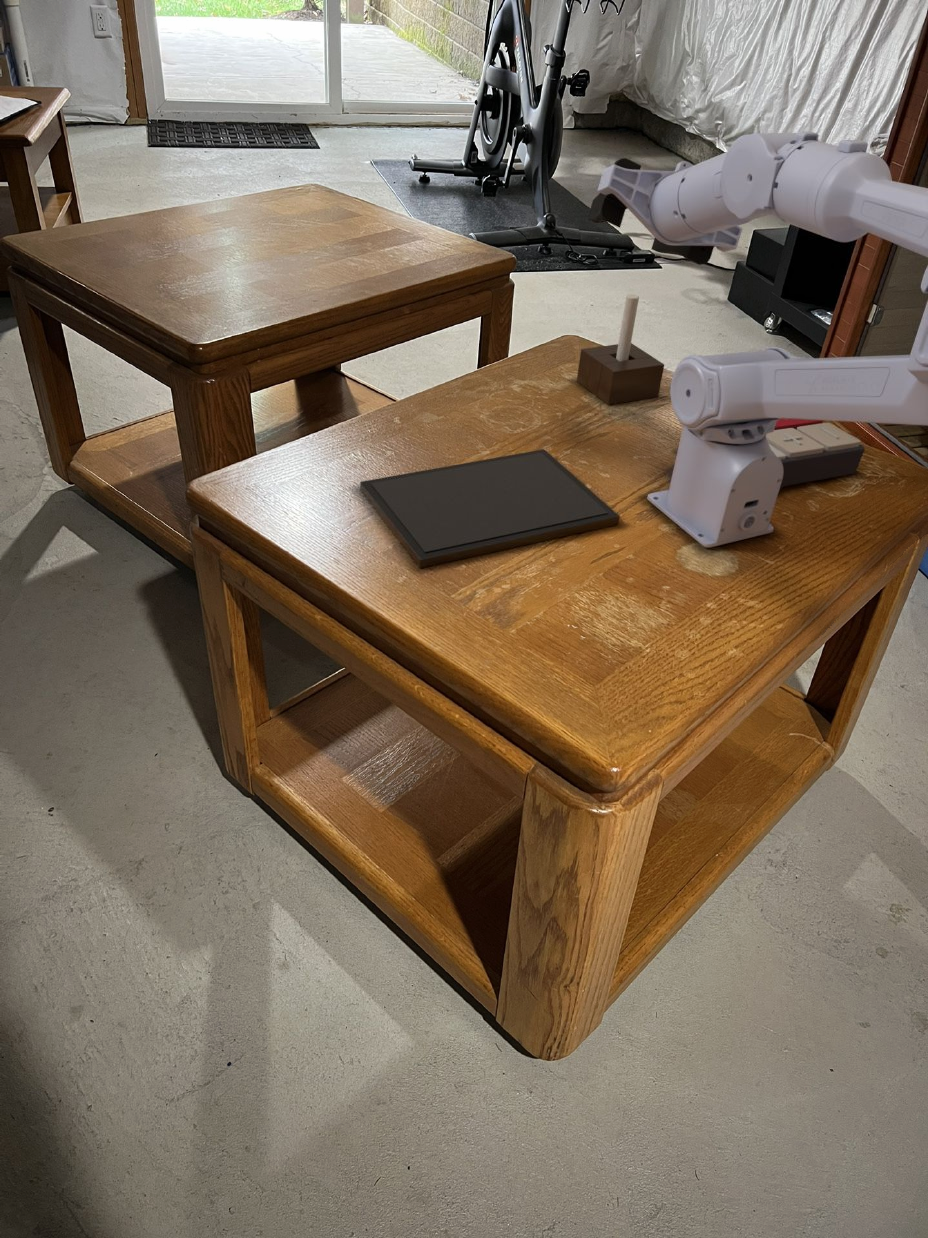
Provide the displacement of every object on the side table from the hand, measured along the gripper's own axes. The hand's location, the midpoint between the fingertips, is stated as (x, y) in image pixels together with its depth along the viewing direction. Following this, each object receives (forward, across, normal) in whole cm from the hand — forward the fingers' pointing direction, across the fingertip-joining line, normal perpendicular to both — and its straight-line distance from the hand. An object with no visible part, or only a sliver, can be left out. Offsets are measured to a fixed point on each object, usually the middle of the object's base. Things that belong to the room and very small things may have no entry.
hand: (625, 225), depth 93 cm
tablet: (-6, +8, +31) cm, 32 cm away
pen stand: (+13, -12, +13) cm, 22 cm away
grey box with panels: (-6, -21, +18) cm, 28 cm away
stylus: (+13, -12, +13) cm, 22 cm away
